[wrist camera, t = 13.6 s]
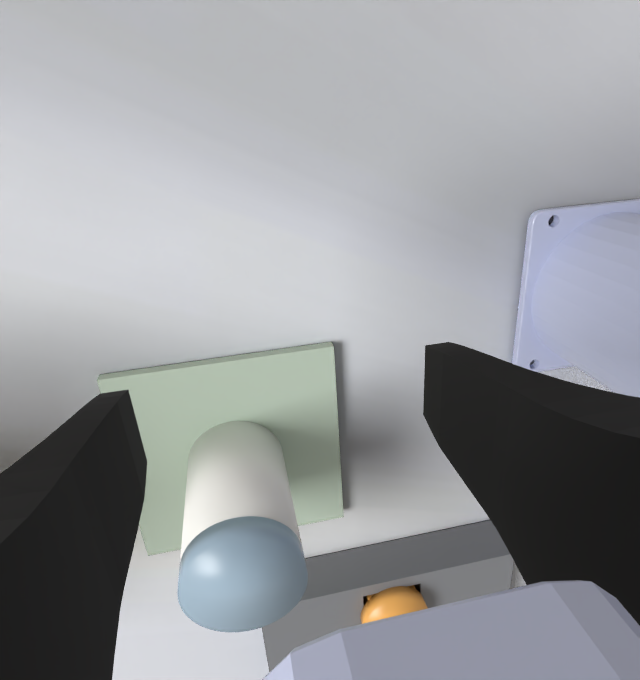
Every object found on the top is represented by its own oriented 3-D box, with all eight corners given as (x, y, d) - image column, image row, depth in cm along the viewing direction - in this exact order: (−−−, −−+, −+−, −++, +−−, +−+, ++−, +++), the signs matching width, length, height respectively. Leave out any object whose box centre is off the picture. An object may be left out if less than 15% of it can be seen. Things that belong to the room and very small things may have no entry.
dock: (491, 519, 29) (515, 553, 26) (477, 649, 34) (495, 687, 31) (255, 569, 27) (258, 610, 24) (277, 700, 32) (281, 744, 29)
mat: (331, 341, 22) (333, 346, 21) (341, 510, 26) (343, 516, 26) (99, 374, 20) (96, 380, 20) (149, 547, 25) (148, 555, 24)
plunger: (410, 550, 28) (430, 592, 25) (410, 593, 29) (428, 638, 27) (349, 563, 27) (363, 608, 25) (352, 607, 29) (365, 653, 26)
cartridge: (297, 434, 23) (328, 551, 17) (261, 505, 24) (278, 638, 18) (207, 409, 21) (204, 527, 15) (174, 486, 23) (159, 623, 16)
